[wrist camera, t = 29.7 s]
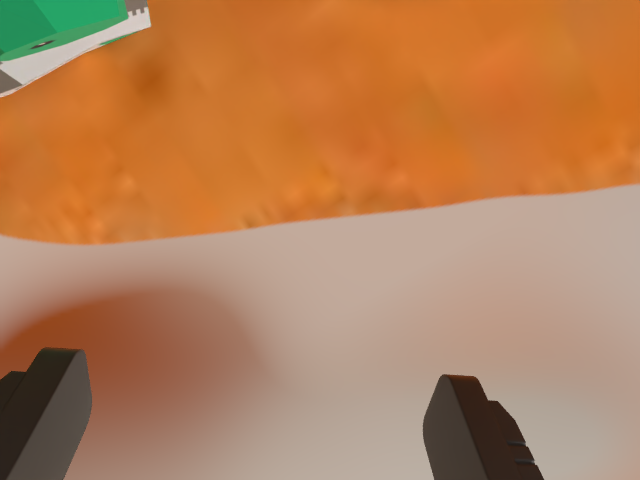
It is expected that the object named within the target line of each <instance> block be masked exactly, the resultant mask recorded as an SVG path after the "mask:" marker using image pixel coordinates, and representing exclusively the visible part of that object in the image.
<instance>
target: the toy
mask: <svg viewBox="0 0 640 480" xmlns="http://www.w3.org/2000/svg"><path fill="white" fill-rule="evenodd" d="M148 27H151V23H150V17H149V11H148V5H147V0H0V97H3V96H6V95H9V94H12V93H13V92H15V91H17V90H19V89H21V88H22V87H24V86H26V85H28V84H30V83H31V82H33V81H35V80H37V79H39V78H40V77H42V76H44V75H46V74H48V73H49V72H51V71H53V70H55V69H57V68H58V67H60V66H62V65H64V64H66V63H67V62H69V61H71V60H73V59H75V58H76V57H78V56H80V55H82V54H84V53H86V52H89V51H91V50H94V49H96V48H99V47H101V46H104V45H106V44H109V43H111V42H113V41H116V40H118V39H121V38H123V37H126V36H128V35H131V34H133V33H136V32H138V31H141V30H143V29H146V28H148Z"/></svg>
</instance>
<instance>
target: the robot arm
mask: <svg viewBox="0 0 640 480" xmlns="http://www.w3.org/2000/svg"><path fill="white" fill-rule="evenodd" d="M91 407H92V394H91V387H90V380H89V374H88V367H87V361H86V354H85V352H84V350H81V349H66V348H51V347H45V348H43V349H42V350H41V351H40V352H39V353H38V354H37V356H36V357H35V359H34V361H33V362H32V364H31V365H30V367H29V368H28V370H27V371H26V372H18V371H11V372H10V373H8V374H7V375H6V376H5V377H3V378H2V379H1V380H0V480H63V479H64V477H65V475H66V472H67V470H68V468H69V465H70V463H71V461H72V459H73V456H74V454H75V452H76V450H77V447H78V445H79V443H80V441H81V438H82V436H83V434H84V431H85V429H86V426H87V424H88V421H89V417H90V413H91ZM423 437H424V443H425V447H426V451H427V454H428V458H429V462H430V465H431V469H432V473H433V476H434V480H544V479H543V476H542V474H541V472H540V470H539V468H538V466H537V465H535V463H534V458H533V456H532V454H531V452H530V450H529V448H528V447H526V444H525V443H526V442H525V440H524V438H523V436H522V434H521V432H520V429H519V427H518V425H517V424H516V422H515V420H514V419H513V418H512V416H510V414H509V413H508V412H507V411H506V410H505V409H504V408H503V407H502V406H501V404H500V403H499V402H498V401H488V399H487V397H486V395H485V393H484V391H483V388H482V386H481V384H480V382H479V380H478V379H477V378H476V377H474V376H461V375H445V374H444V375H442V376H441V377H440V378H439V380H438V383H437V386H436V388H435V391H434V393H433V396H432V398H431V401H430V403H429V406H428V409H427V411H426V414H425V417H424V422H423Z"/></svg>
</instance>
